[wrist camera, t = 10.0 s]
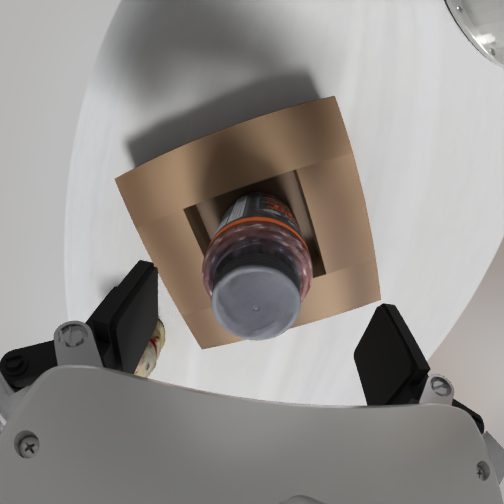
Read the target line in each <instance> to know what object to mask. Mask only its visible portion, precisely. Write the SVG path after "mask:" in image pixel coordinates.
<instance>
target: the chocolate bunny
mask: <svg viewBox="0 0 504 504" xmlns="http://www.w3.org/2000/svg"><path fill="white" fill-rule="evenodd" d="M164 343H165V329H164V326H163V324H162V322H161V321H160V320H158V323H157V326H156V328H155V330H154V333H153V335H152V337H151V339H150V341H149V343H148V345H147V347H146V349H145V351H144V353H143V356H142V358H141V360H140V362H139V364H138V366H137V368H136V371H135V373H134V375H138V376H141V377H145V378H147V377H148V376H149V375H150V373H151V372H152V371H153V369H154V368H155V366H156V361H157V359H158V357H159V354H160V351H161V349H162V347H163V345H164Z"/></svg>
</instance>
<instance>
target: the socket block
mask: <svg viewBox="0 0 504 504" xmlns="http://www.w3.org/2000/svg"><path fill="white" fill-rule="evenodd" d="M115 181H116V184H117V186H118V189H119V191H120V193H121V196H122V198H123V200H124V203H125V205H126V207H127V209H128V212H129V214H130V216H131V218H132V220H133V223H134V225H135V227H136V229H137V231H138V233H139V235H140V237H141V240H142V242H143V244H144V246H145V248H146V250H147V252H148V254H149V256H150V258H151V260H152V262H153V263H154V266H155V267H157V268H158V273H159V275H160V277H161V279H162V281H163V283H164V285H165V287H166V288H167V290H168V292H169V294H170V296H171V297H172V299H173V301H174V303H175V305H176V306H177V308H178V310H179V312H180V313H181V315H182V317H183V319H184V320H185V322H186V324H187V325H188V327H189V329H190V331H191V332H192V334H193V336H194V337H195V339H196V340H197V342H198V344H199V345H200V347H201V349H206V348H211V347H216V346H221V345H225V344H230V343H234V342H238V341H243V340H247V339H242V338H239V337H236V336H235V335H233V334H230V333H229V332H227V331H226V330H225V329H224V328H222V327H221V326H220V324H219V323H218V322H217V320H216V319H215V317H214V314H213V312H212V308H211V300H210V298H209V296H208V295H207V293H206V291H205V288H204V285H203V280H202V264H203V260H204V256H205V254H206V251H207V249H208V247H209V244H210V242H211V240H212V238H213V236H214V234H215V232H216V230H217V228H218V226H219V224H220V222H221V219H222V217H223V215H224V214H225V212H226V210H227V209H228V207H229V206H230V205H231V204H232V202H234V201H235V200H236V199H237V198H239V197H241V196H243V195H245V194H248V193H252V192H266V193H270V194H273V195H275V196H277V197H279V198H281V199H282V200H284V201H285V202H286V203H287V204H288V205H289V207H290V208H291V210H292V211H293V212H294V215H295V216H296V219H297V222H298V224H299V227H300V230H301V232H302V235H303V237H304V240H305V242H306V245H307V248H308V251H309V253H310V256H311V260H312V267H313V279H312V283H311V287H310V290H309V292H308V294H307V296H306V298H305V299H304V301H303V302H302V303H301V309H300V313H299V315H298V317H297V319H296V321H295V322H294V324H293V325H292V326H291V327H290V328H294V327H297V326H301V325H304V324H308V323H311V322H314V321H318V320H321V319H324V318H328V317H331V316H334V315H337V314H340V313H343V312H347V311H350V310H353V309H356V308H359V307H362V306H365V305H367V304H370V303H373V302H376V301H379V300H381V295H380V286H379V279H378V271H377V264H376V258H375V251H374V245H373V239H372V234H371V229H370V223H369V218H368V213H367V209H366V204H365V199H364V195H363V191H362V186H361V182H360V178H359V174H358V170H357V166H356V163H355V159H354V155H353V152H352V148H351V145H350V141H349V138H348V135H347V131H346V128H345V125H344V122H343V119H342V116H341V113H340V110H339V107H338V104H337V101H336V98H335V96H331V97H327V98H323V99H319V100H315V101H311V102H307V103H303V104H300V105H296V106H292V107H289V108H285V109H282V110H279V111H275V112H272V113H269V114H266V115H263V116H260V117H257V118H254V119H251V120H248V121H245V122H242V123H239V124H236V125H233V126H231V127H228V128H225V129H223V130H220V131H217V132H215V133H212V134H210V135H207V136H205V137H202V138H200V139H197V140H195V141H193V142H190V143H188V144H186V145H183V146H181V147H179V148H176V149H174V150H172V151H170V152H167V153H165V154H163V155H161V156H159V157H157V158H155V159H153V160H150V161H148V162H146V163H144V164H142V165H140V166H138V167H136V168H134V169H132V170H130V171H129V172H127V173H125V174H123V175H121V176H119V177H117V178H115ZM290 328H289V329H290Z"/></svg>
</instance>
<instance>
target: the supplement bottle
mask: <svg viewBox="0 0 504 504" xmlns="http://www.w3.org/2000/svg"><path fill="white" fill-rule="evenodd" d="M312 279H313V267H312V260H311V256H310V253H309V251H308V248H307V245H306V242H305V240H304V237H303V235H302V232H301V230H300V227H299V224H298V222H297V219H296V216H295V215H294V212H293V211H292V210H291V208H290V207H289V205H288V204H287V203H286V202H285V201H284V200H282V199H281V198H279V197H277V196H275V195H273V194H270V193H266V192H252V193H248V194H245V195H243V196H241V197H239V198H237V199H236V200H235V201H234V202H232V204H231V205H230V206H229V207H228V209H227V210H226V212H225V214H224V215H223V217H222V219H221V222H220V224H219V226H218V228H217V230H216V232H215V234H214V236H213V238H212V240H211V242H210V244H209V247H208V249H207V251H206V254H205V256H204V260H203V264H202V280H203V285H204V288H205V291H206V293H207V295H208V296H209V298H210V300H211V308H212V312H213V314H214V317H215V319H216V320H217V322H218V323H219V324H220V326H221V327H222V328H224V329H225V330H226V331H227V332H229V333H230V334H233V335H235V336H236V337H239V338H242V339H248V340H265V339H270V338H273V337H276V336H278V335H280V334H282V333H284V332H285V331H286V330H288V329H289V328H290V327H291V326H292V325H293V324H294V322H295V321H296V319H297V317H298V315H299V313H300V309H301V303H302V302H303V301H304V299H305V298H306V296H307V294H308V292H309V290H310V287H311V283H312Z"/></svg>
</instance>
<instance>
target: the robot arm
mask: <svg viewBox="0 0 504 504" xmlns="http://www.w3.org/2000/svg"><path fill="white" fill-rule="evenodd" d="M446 2H447V4H448V6H449V8H450V11H451V13H452V14H453V16H454V18H455V20H456V21H457V23H458V25H459V26H460V27H461V29H462V30H463V32H464V33H465V35H466V36H467V37H468V38H469V40H470V41H471V42H472V43H473V44H474V46H475V47H476V48H477V49H478V50H479V51H480V52H481V53H482V54H483V55H484V56H485V57H486V58H488V59H489V60H491V61H492V62H493V63H495V64H497V65H499V66H502V67H504V0H446ZM157 323H158V268H157V267H154V263H152V262H147V261H143V260H140V261H138V263H137V264H136V265H135V266H134V267H133V269H132V270H131V271H130V272H129V273H128V275H127V276H126V277H125V278H124V279H123V281H122V282H121V283H120V284H119V286H118V287H117V286H116V287H114V288H113V289H112V290H111V291H110V292H109V294H108V295H107V296H106V297H105V299H104V300H103V301H102V302H101V304H100V305H99V306H98V307H97V309H96V310H95V311H94V312H93V314H92V315H91V316H90V318H89V319H88V320H87V322H86V323H83V322H80V321H69V322H66V323H64V324H62V325H60V326H59V327H58V328H57V329H56V331H55V333H54V340H52V341H48V342H44V343H40V344H36V345H32V346H28V347H24V348H20V349H15V350H12V351H9V352H8V353H6V354H5V355H4V356H3V358H2V359H1V362H0V504H503V500H502V495H501V491H500V487H499V484H500V482H501V481H502V479H503V477H504V449H503V448H502V447H501V446H500V444H499V443H498V442H497V441H496V440H495V439H494V438H493V437H492V436H491V435H490V434H489V433H488V432H487V431H486V432H485V433H484V423H483V420H482V418H481V416H480V415H478V414H476V413H475V412H474V411H472V410H470V409H469V408H467V407H466V406H464V405H463V404H461V403H459V402H458V401H456V400H455V399H453V396H454V388H453V386H452V384H451V382H450V381H449V380H448V379H447V378H445V377H444V376H442V375H440V374H432V375H430V376H428V374H427V373H428V372H429V370H430V367H429V365H428V363H427V361H426V359H425V357H424V355H423V354H422V352H421V350H420V348H419V346H418V344H417V343H416V341H415V339H414V337H413V335H412V334H411V332H410V330H409V328H408V327H407V325H406V323H405V321H404V320H403V318H402V316H401V314H400V313H399V311H398V309H397V308H396V306H395V305H391V304H384V303H383V304H382V305H380V306H378V307H377V308H376V310H375V312H374V314H373V316H372V319H371V321H370V323H369V325H368V326H367V328H366V330H365V332H364V334H363V336H362V338H361V340H360V342H359V344H358V346H357V347H356V349H355V351H354V360H355V363H356V367H357V370H358V373H359V377H360V380H361V384H362V387H363V391H364V394H365V398H366V402H367V405H368V406H335V405H311V404H296V403H284V402H274V401H265V400H257V399H249V398H242V397H235V396H229V395H223V394H217V393H212V392H206V391H201V390H196V389H192V388H187V387H182V386H178V385H174V384H169V383H165V382H161V381H157V380H153V379H149V378H145V377H141V376H138V375H134V373H135V371H136V368H137V366H138V364H139V362H140V360H141V358H142V356H143V353H144V351H145V349H146V347H147V345H148V343H149V341H150V339H151V337H152V335H153V333H154V330H155V328H156V326H157Z"/></svg>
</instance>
